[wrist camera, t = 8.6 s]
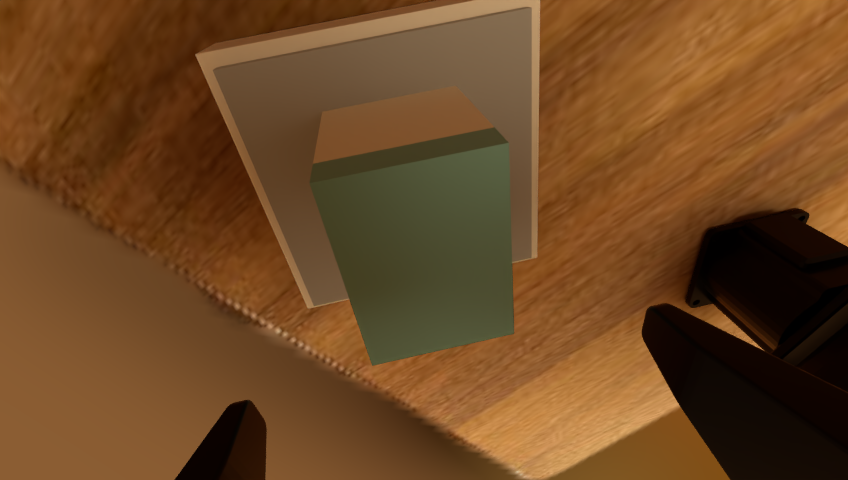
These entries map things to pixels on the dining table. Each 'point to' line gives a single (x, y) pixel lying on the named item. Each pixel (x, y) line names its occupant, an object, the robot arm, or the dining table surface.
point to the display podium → (367, 82)
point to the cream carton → (418, 220)
